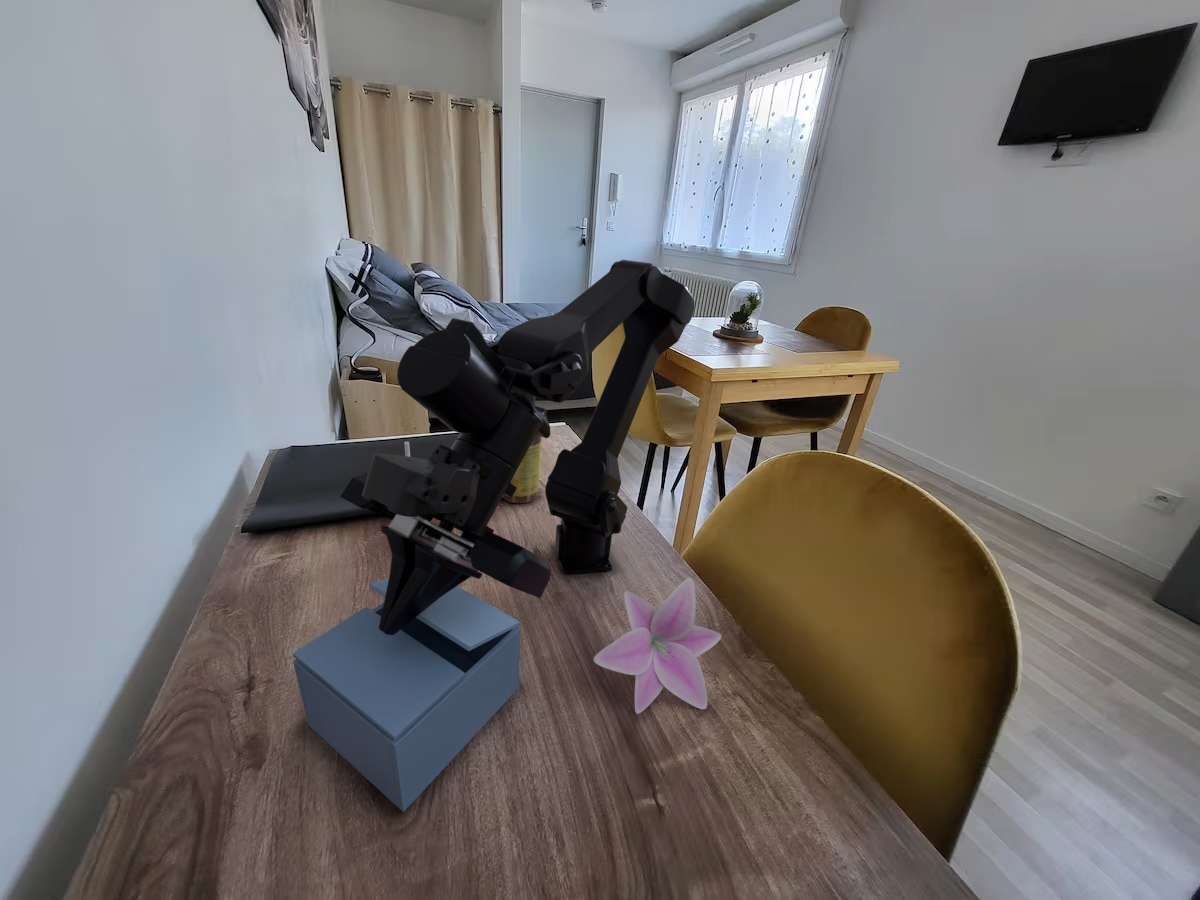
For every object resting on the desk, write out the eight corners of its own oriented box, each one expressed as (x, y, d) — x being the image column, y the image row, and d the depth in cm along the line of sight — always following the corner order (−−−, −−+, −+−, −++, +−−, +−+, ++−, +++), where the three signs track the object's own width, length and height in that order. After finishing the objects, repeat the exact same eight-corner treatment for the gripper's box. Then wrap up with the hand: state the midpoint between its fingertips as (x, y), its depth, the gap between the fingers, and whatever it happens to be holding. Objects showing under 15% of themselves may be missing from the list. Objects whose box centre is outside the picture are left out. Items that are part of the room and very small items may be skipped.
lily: (569, 695, 47) (598, 672, 40) (605, 587, 55) (634, 552, 47) (681, 744, 47) (730, 730, 40) (701, 630, 55) (745, 601, 48)
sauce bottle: (497, 487, 80) (497, 370, 72) (534, 485, 82) (539, 370, 74) (502, 508, 74) (503, 383, 66) (542, 505, 76) (548, 383, 68)
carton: (430, 631, 51) (425, 568, 48) (518, 688, 46) (520, 621, 42) (307, 725, 41) (290, 653, 37) (403, 812, 36) (393, 738, 32)
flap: (425, 572, 48) (426, 568, 48) (519, 625, 43) (520, 621, 43) (368, 587, 42) (369, 583, 42) (468, 651, 37) (469, 646, 37)
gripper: (347, 381, 39) (222, 562, 34) (532, 447, 30) (397, 696, 26) (431, 442, 48) (341, 589, 44) (589, 504, 40) (497, 693, 36)
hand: (385, 632), depth 37 cm, fingers closed
